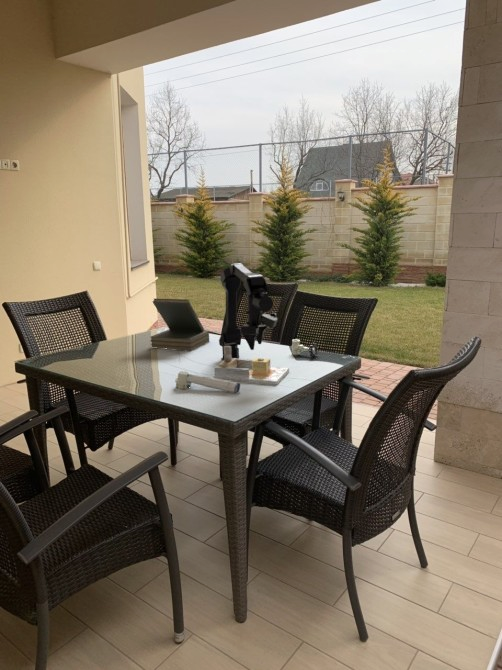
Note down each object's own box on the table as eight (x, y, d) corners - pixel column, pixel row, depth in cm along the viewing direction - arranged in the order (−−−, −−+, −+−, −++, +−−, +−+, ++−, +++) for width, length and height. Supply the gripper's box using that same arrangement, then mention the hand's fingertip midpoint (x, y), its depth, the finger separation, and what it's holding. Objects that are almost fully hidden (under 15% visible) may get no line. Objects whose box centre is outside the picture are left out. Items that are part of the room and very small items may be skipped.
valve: (288, 355, 223) (310, 358, 216) (288, 341, 222) (310, 344, 215) (296, 352, 228) (318, 355, 221) (295, 338, 227) (318, 341, 220)
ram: (218, 372, 193) (217, 349, 191) (228, 365, 202) (227, 343, 200) (228, 373, 192) (227, 350, 190) (237, 366, 201) (236, 344, 199)
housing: (252, 373, 191) (251, 360, 190) (256, 369, 196) (255, 357, 195) (266, 374, 189) (266, 361, 188) (270, 370, 194) (270, 358, 193)
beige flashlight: (235, 385, 172) (173, 370, 179) (234, 402, 173) (172, 387, 181) (241, 380, 176) (180, 366, 184) (239, 397, 178) (179, 383, 186)
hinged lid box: (209, 342, 253) (207, 294, 248) (191, 351, 236) (188, 300, 230) (171, 339, 262) (168, 293, 256) (150, 348, 244) (147, 299, 239)
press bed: (212, 379, 190) (212, 368, 189) (229, 367, 207) (229, 356, 206) (276, 385, 182) (276, 373, 181) (289, 371, 198) (289, 360, 197)
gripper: (268, 312, 176) (268, 354, 180) (281, 304, 193) (282, 342, 197) (239, 311, 180) (240, 352, 183) (255, 303, 197) (256, 340, 201)
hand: (256, 346), depth 191 cm, fingers open, 9 cm apart
